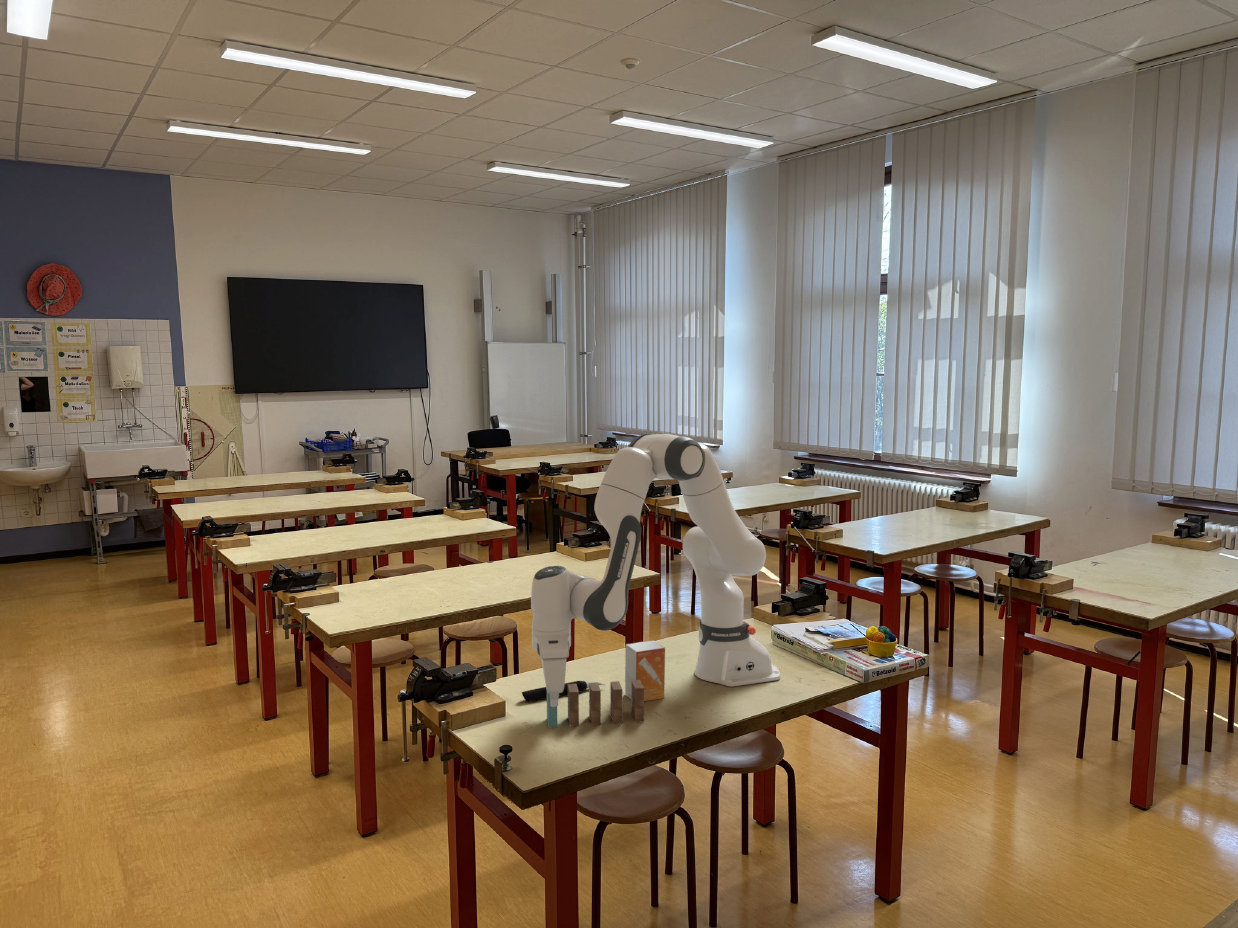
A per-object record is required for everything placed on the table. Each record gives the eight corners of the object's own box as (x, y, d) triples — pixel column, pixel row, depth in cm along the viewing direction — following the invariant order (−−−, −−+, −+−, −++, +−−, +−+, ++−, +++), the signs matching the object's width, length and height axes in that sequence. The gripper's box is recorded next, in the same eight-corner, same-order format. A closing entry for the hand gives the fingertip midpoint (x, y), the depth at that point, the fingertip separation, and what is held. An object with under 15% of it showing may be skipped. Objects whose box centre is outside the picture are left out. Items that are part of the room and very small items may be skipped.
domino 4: (618, 713, 196) (618, 681, 195) (622, 722, 191) (622, 689, 190) (610, 714, 195) (610, 681, 194) (613, 723, 190) (613, 689, 190)
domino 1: (548, 727, 188) (548, 693, 187) (546, 718, 193) (546, 685, 192) (557, 726, 188) (557, 692, 188) (555, 717, 193) (555, 684, 193)
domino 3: (597, 715, 195) (597, 682, 194) (600, 724, 190) (600, 690, 189) (589, 715, 195) (589, 682, 194) (592, 724, 190) (591, 690, 189)
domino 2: (576, 716, 194) (576, 683, 193) (578, 725, 189) (578, 691, 188) (567, 717, 194) (567, 684, 193) (570, 726, 189) (569, 692, 188)
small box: (635, 703, 202) (635, 651, 200) (624, 694, 207) (624, 643, 206) (665, 698, 205) (665, 647, 204) (653, 689, 211) (653, 639, 209)
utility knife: (599, 685, 214) (599, 674, 214) (606, 690, 211) (606, 679, 210) (520, 700, 204) (520, 688, 204) (526, 706, 201) (526, 694, 200)
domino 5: (639, 712, 196) (639, 679, 196) (643, 721, 192) (643, 687, 191) (631, 713, 196) (631, 680, 195) (635, 721, 191) (635, 688, 190)
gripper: (534, 625, 198) (535, 681, 200) (540, 654, 178) (541, 716, 180) (561, 623, 199) (562, 679, 201) (569, 652, 179) (570, 714, 181)
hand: (552, 697), depth 190 cm, fingers open, 8 cm apart
